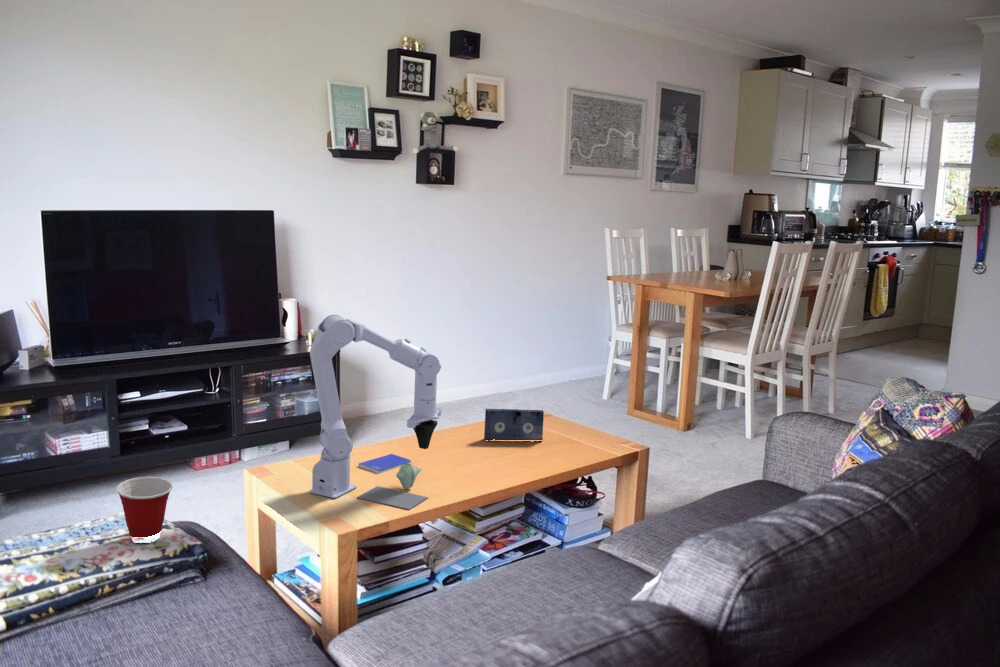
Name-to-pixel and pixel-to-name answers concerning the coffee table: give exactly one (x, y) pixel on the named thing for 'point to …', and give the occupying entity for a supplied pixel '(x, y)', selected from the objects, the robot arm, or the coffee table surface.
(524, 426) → the vhs cassette tape
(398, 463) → the hard drive
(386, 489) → the mat
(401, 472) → the grey-green rounded piece
